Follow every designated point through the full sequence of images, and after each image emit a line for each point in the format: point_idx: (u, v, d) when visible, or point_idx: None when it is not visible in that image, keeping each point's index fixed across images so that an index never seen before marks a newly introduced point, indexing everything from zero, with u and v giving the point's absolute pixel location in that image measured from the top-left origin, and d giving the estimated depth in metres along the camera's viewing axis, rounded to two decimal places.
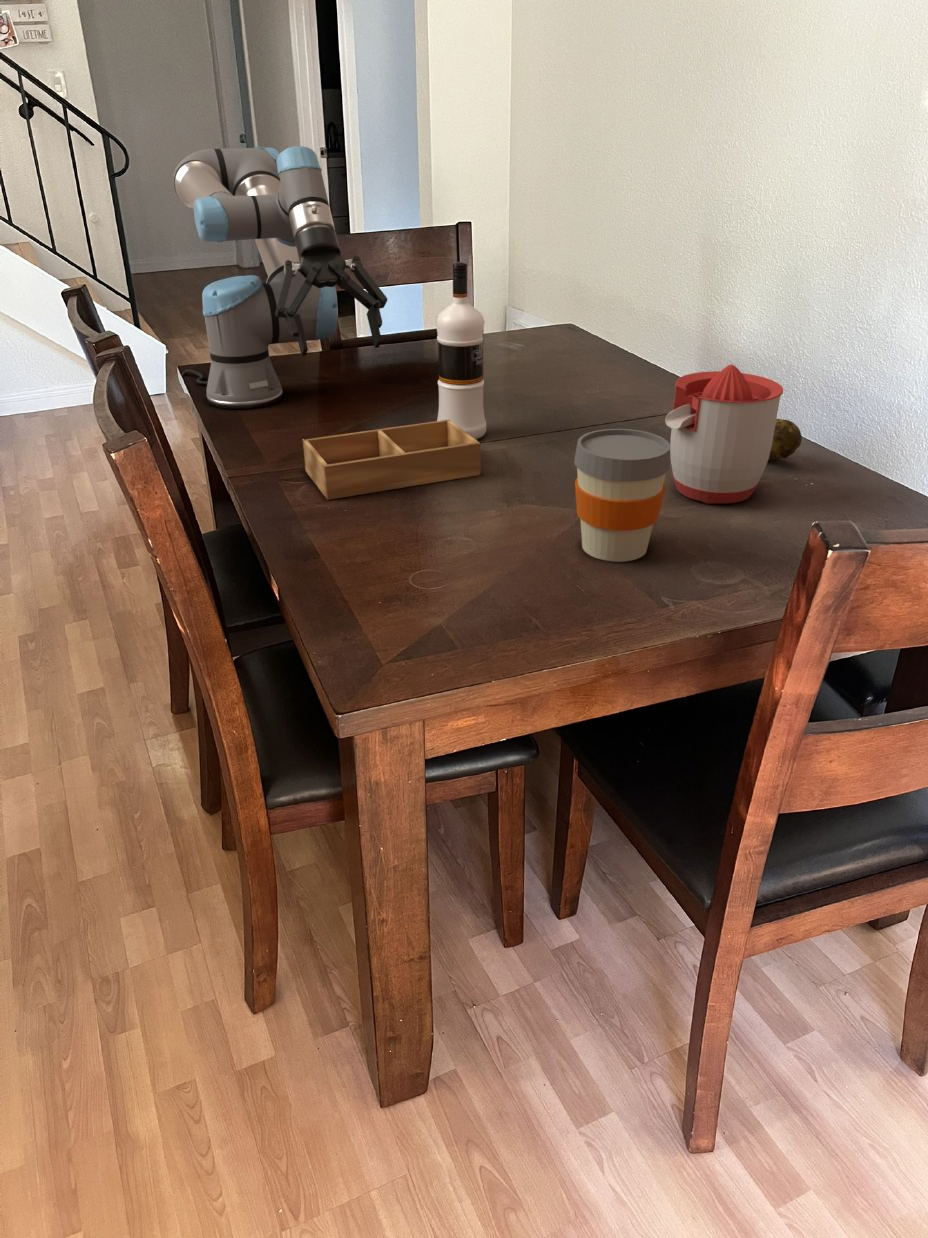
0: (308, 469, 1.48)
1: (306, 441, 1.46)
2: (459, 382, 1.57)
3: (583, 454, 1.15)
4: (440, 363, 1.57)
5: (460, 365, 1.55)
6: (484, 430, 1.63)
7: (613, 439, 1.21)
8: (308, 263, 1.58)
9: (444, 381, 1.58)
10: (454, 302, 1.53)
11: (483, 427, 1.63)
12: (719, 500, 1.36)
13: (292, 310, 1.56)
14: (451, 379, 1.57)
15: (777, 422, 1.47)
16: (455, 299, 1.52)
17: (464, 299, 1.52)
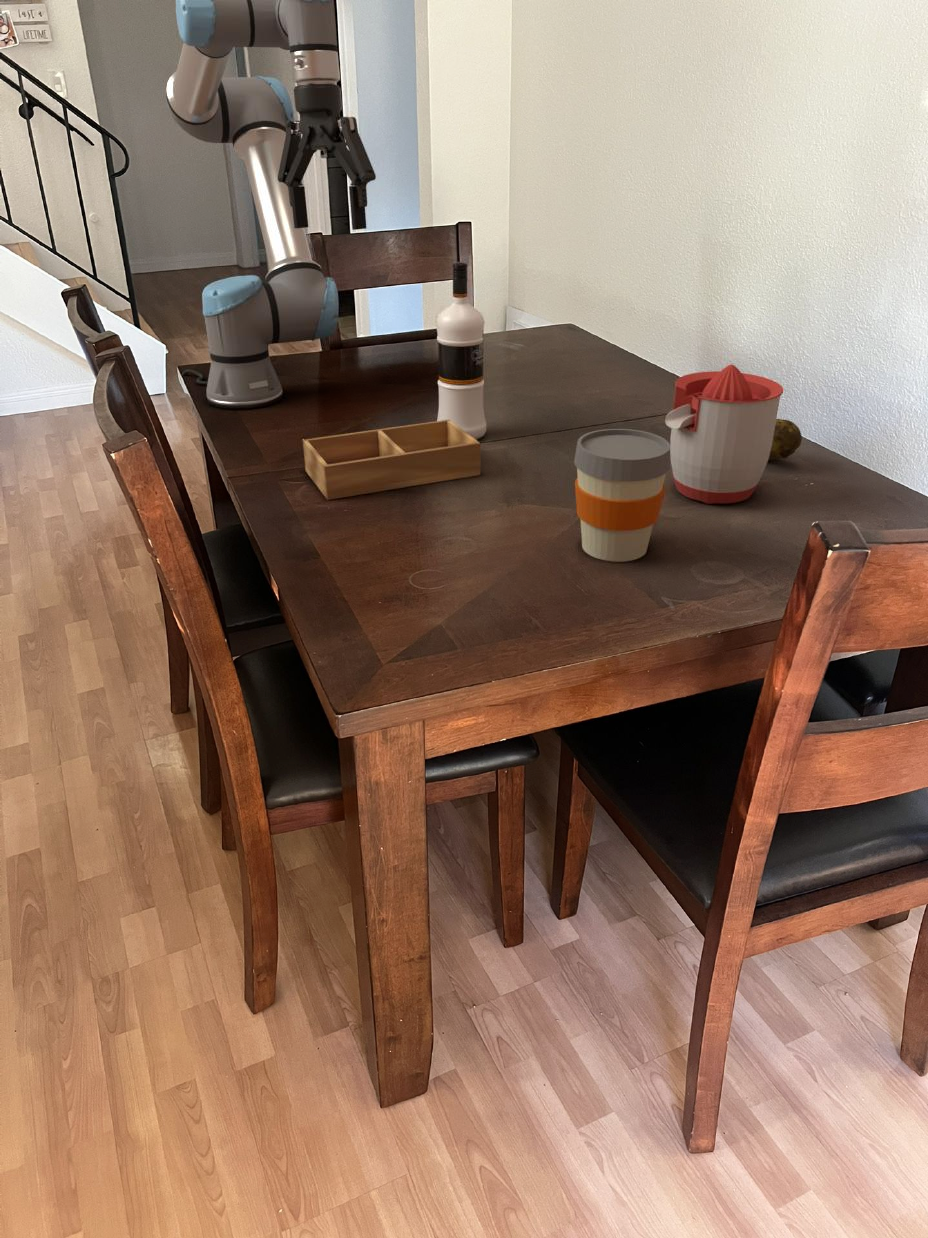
0: (308, 469, 1.48)
1: (306, 441, 1.46)
2: (459, 382, 1.57)
3: (583, 454, 1.15)
4: (440, 363, 1.57)
5: (460, 365, 1.55)
6: (484, 430, 1.63)
7: (613, 439, 1.21)
8: (303, 125, 1.47)
9: (444, 381, 1.58)
10: (454, 302, 1.53)
11: (483, 427, 1.63)
12: (719, 500, 1.36)
13: (288, 182, 1.53)
14: (451, 379, 1.57)
15: (777, 422, 1.47)
16: (455, 299, 1.52)
17: (464, 299, 1.52)
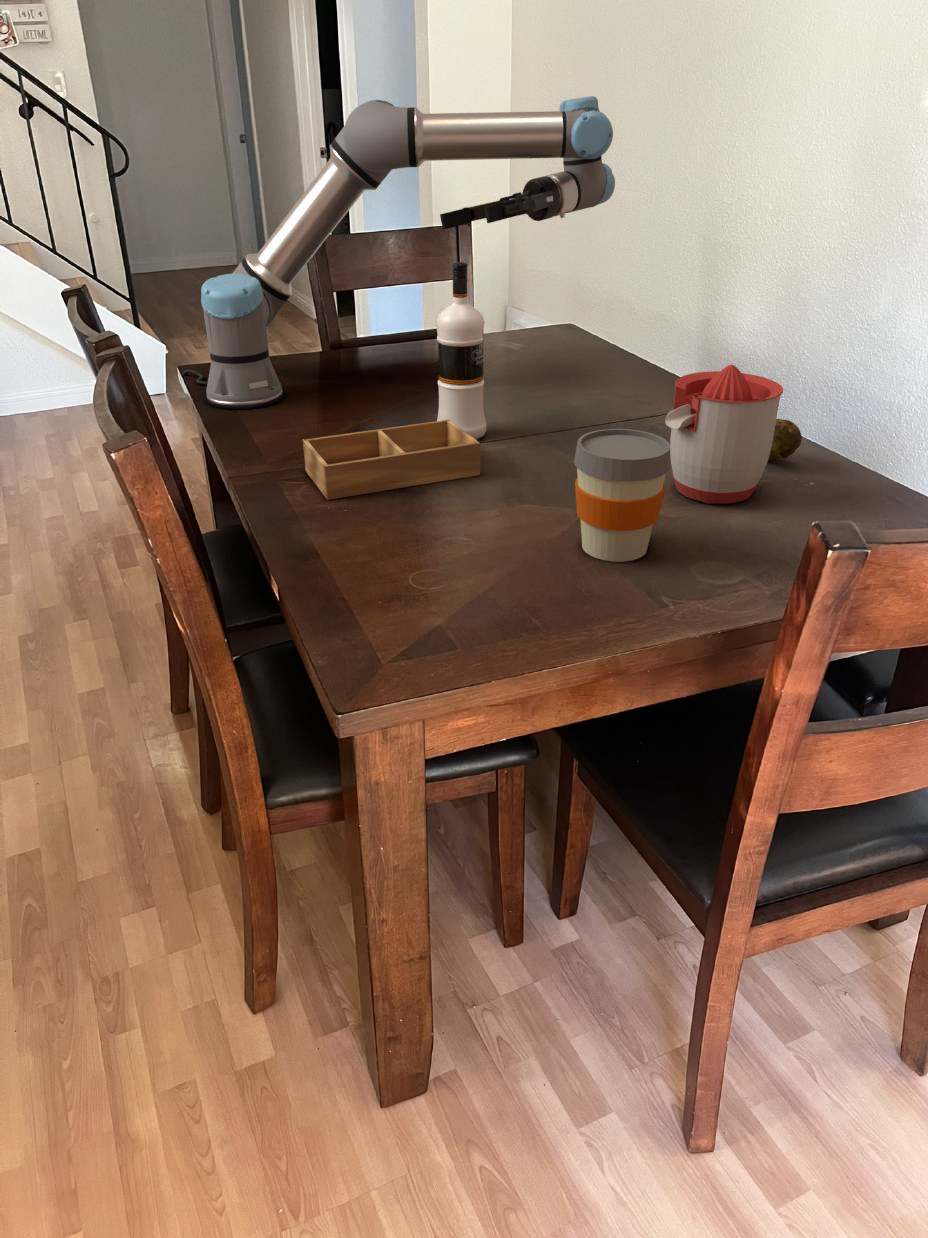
0: (308, 469, 1.48)
1: (306, 441, 1.46)
2: (459, 382, 1.57)
3: (583, 454, 1.15)
4: (440, 363, 1.57)
5: (460, 365, 1.55)
6: (484, 430, 1.63)
7: (613, 439, 1.21)
8: None
9: (444, 381, 1.58)
10: (454, 302, 1.53)
11: (483, 427, 1.63)
12: (719, 500, 1.36)
13: None
14: (451, 379, 1.57)
15: (777, 422, 1.47)
16: (455, 299, 1.52)
17: (464, 299, 1.52)
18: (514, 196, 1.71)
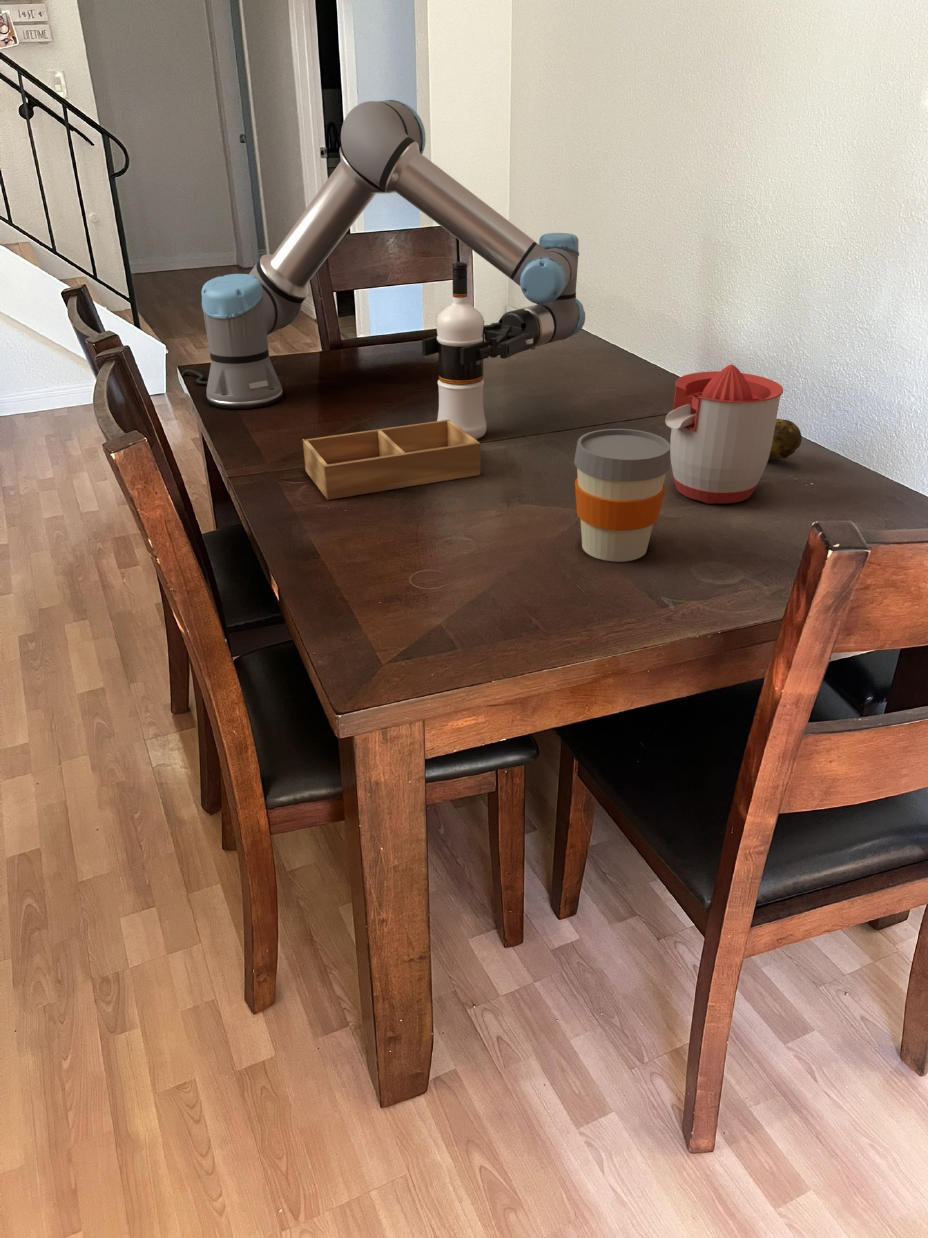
0: (308, 469, 1.48)
1: (306, 441, 1.46)
2: (459, 382, 1.57)
3: (583, 454, 1.15)
4: (440, 363, 1.57)
5: (460, 365, 1.55)
6: (484, 430, 1.63)
7: (613, 439, 1.21)
8: None
9: (444, 381, 1.58)
10: (454, 302, 1.53)
11: (483, 427, 1.63)
12: (719, 500, 1.36)
13: None
14: (451, 379, 1.57)
15: (777, 422, 1.47)
16: (455, 299, 1.52)
17: (464, 299, 1.52)
18: (493, 327, 1.64)
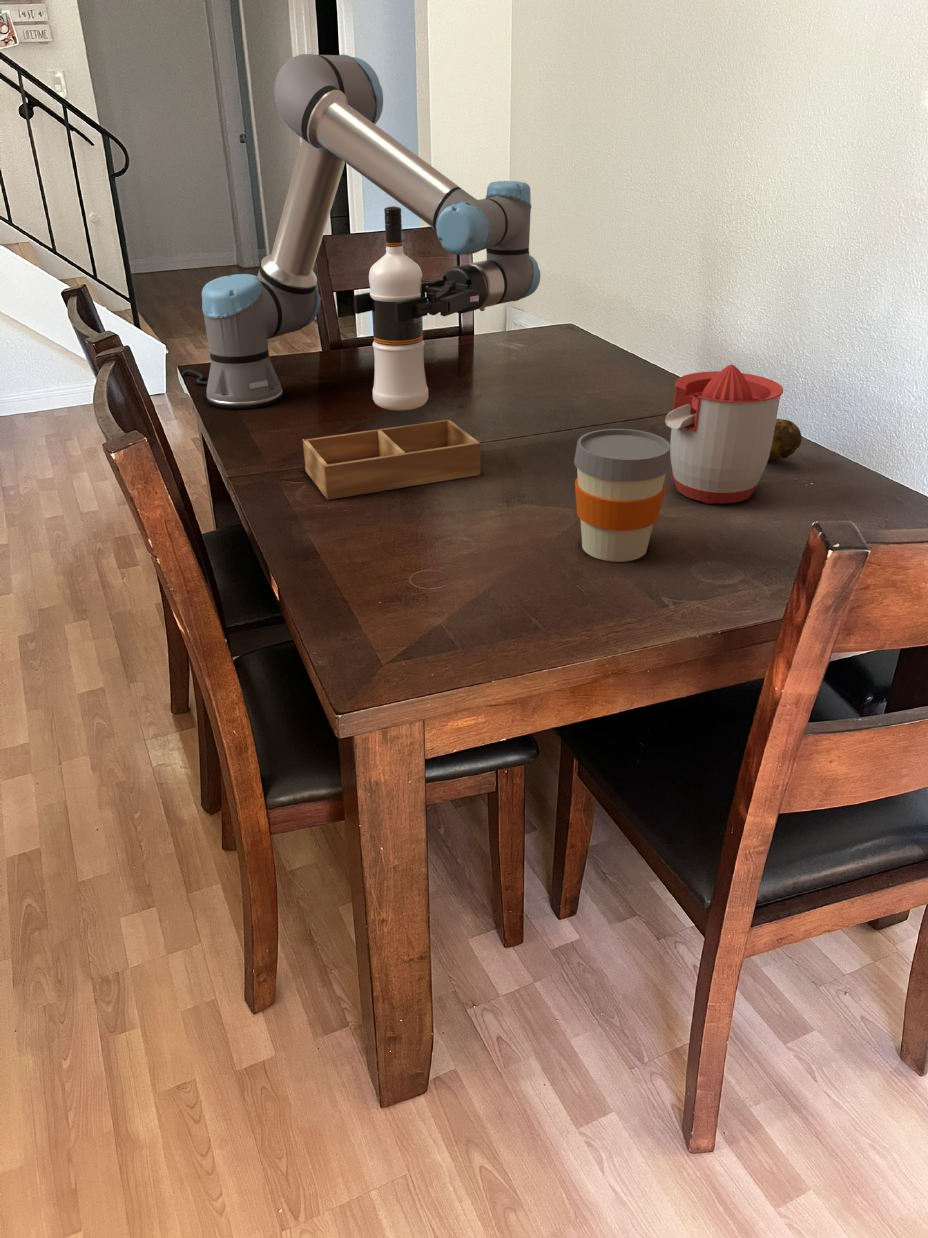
0: (308, 469, 1.48)
1: (306, 441, 1.46)
2: (395, 342, 1.41)
3: (583, 454, 1.15)
4: (374, 322, 1.41)
5: (395, 323, 1.39)
6: (425, 397, 1.47)
7: (613, 439, 1.21)
8: None
9: (378, 342, 1.42)
10: (387, 252, 1.37)
11: (424, 394, 1.47)
12: (719, 500, 1.36)
13: None
14: (386, 339, 1.41)
15: (777, 422, 1.47)
16: (388, 249, 1.36)
17: (399, 249, 1.36)
18: (436, 283, 1.48)
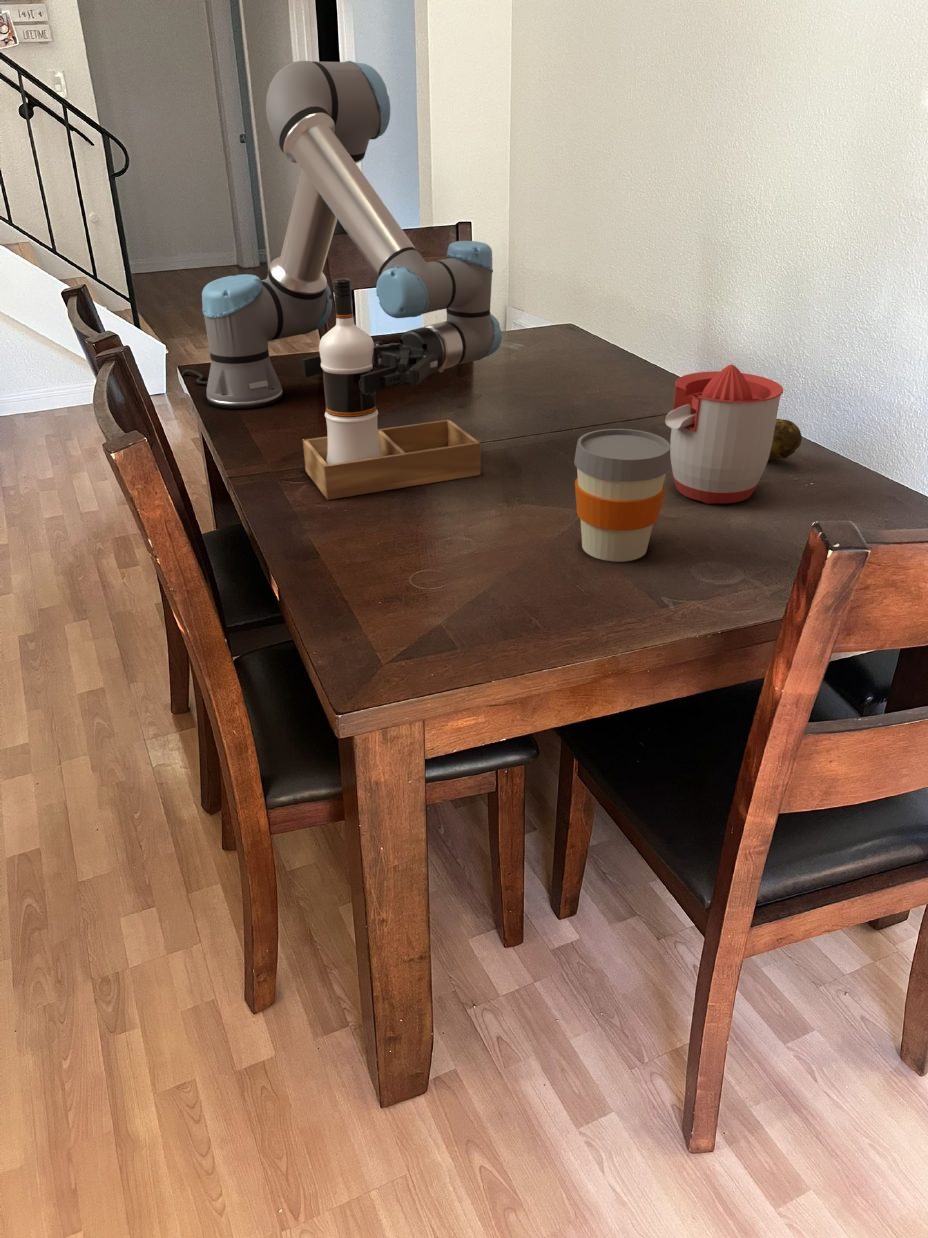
0: (308, 469, 1.48)
1: (306, 441, 1.46)
2: (346, 414, 1.37)
3: (583, 454, 1.15)
4: (325, 393, 1.38)
5: (346, 395, 1.36)
6: None
7: (613, 439, 1.21)
8: None
9: (330, 413, 1.39)
10: (337, 324, 1.34)
11: None
12: (719, 500, 1.36)
13: None
14: (337, 411, 1.38)
15: (777, 422, 1.47)
16: (338, 320, 1.33)
17: (349, 320, 1.33)
18: (391, 348, 1.45)
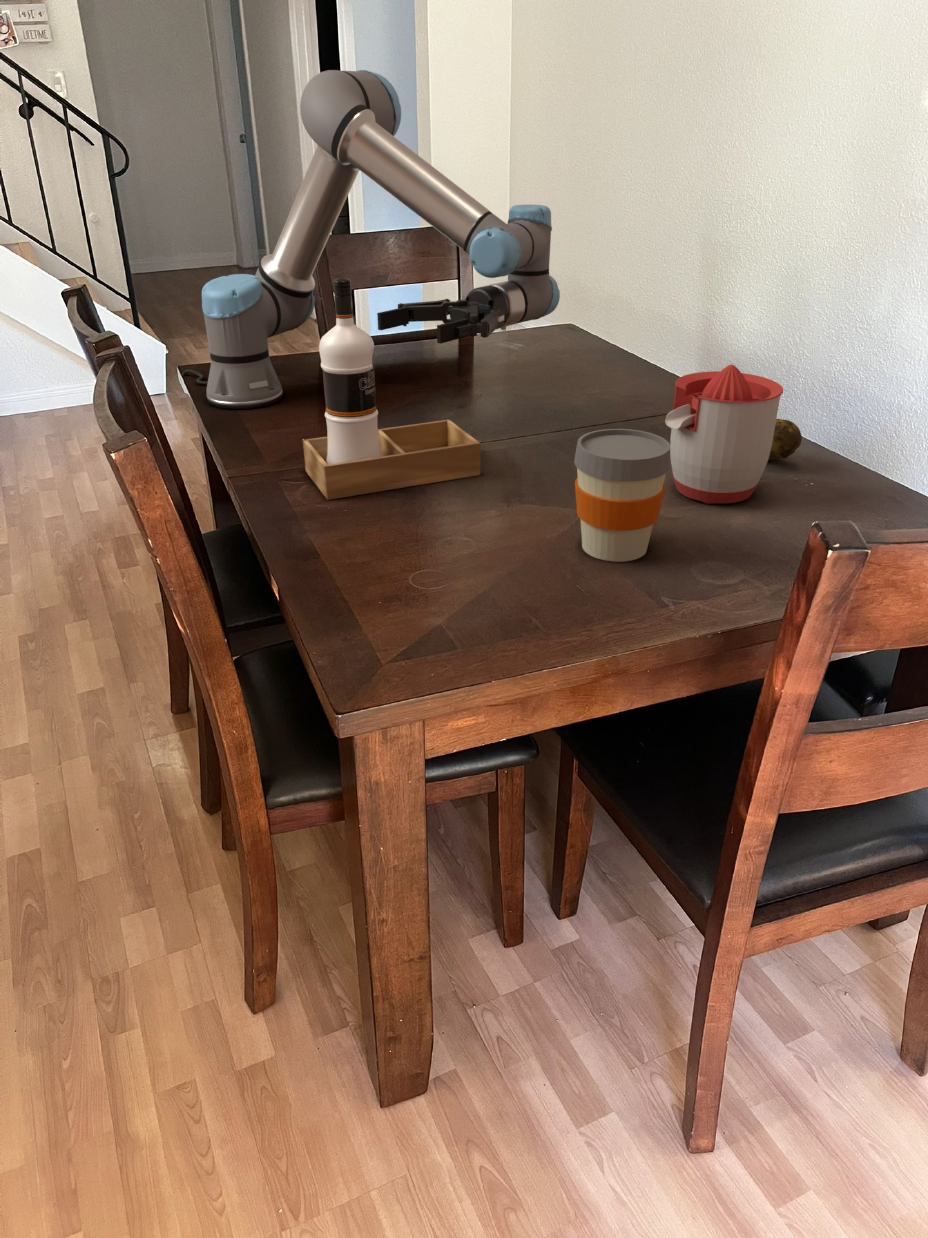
0: (308, 469, 1.48)
1: (306, 441, 1.46)
2: (346, 414, 1.37)
3: (583, 454, 1.15)
4: (325, 393, 1.38)
5: (346, 395, 1.36)
6: None
7: (613, 439, 1.21)
8: None
9: (330, 413, 1.39)
10: (337, 324, 1.34)
11: None
12: (719, 500, 1.36)
13: None
14: (337, 411, 1.38)
15: (777, 422, 1.47)
16: (338, 320, 1.33)
17: (349, 320, 1.33)
18: (459, 304, 1.54)
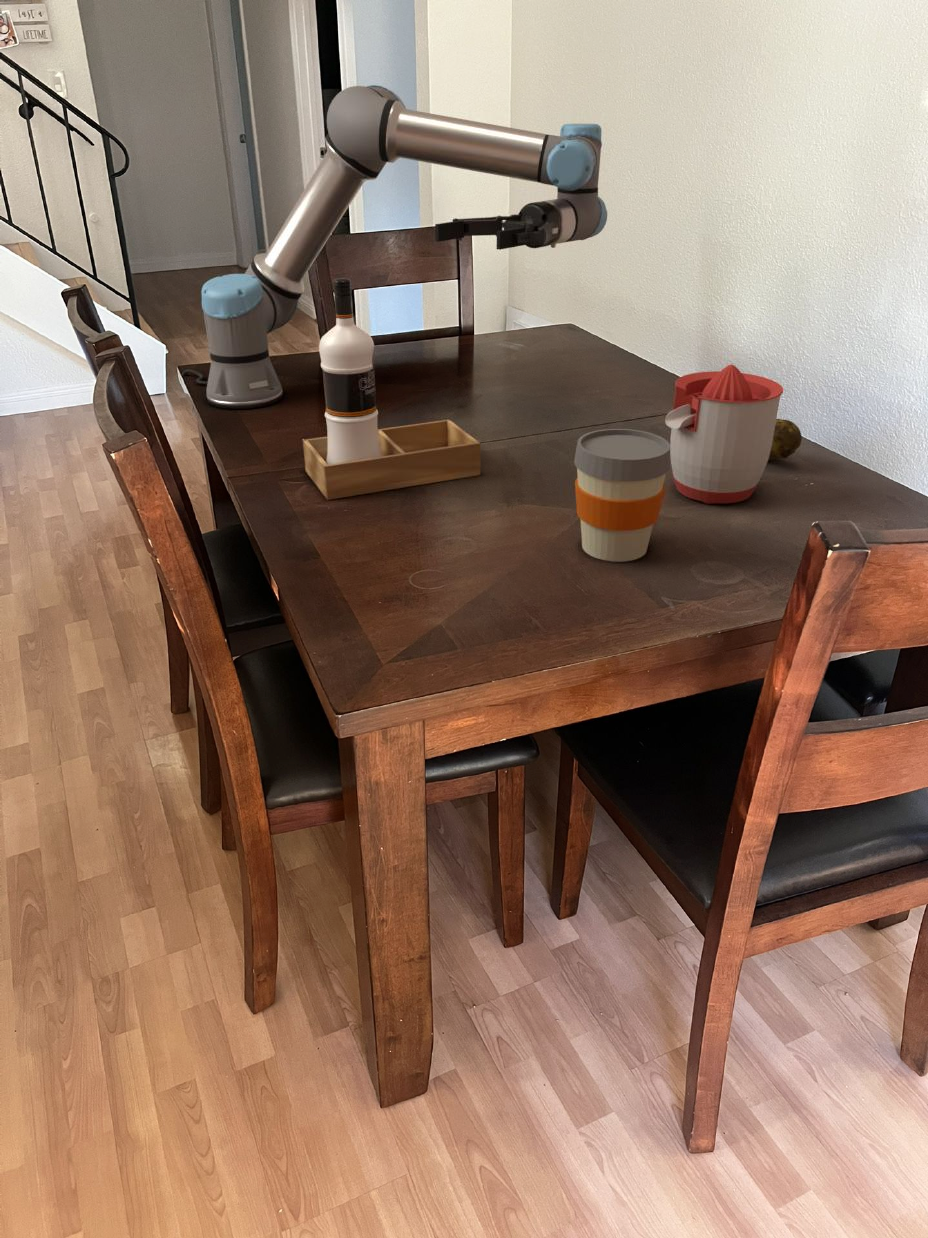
0: (308, 469, 1.48)
1: (306, 441, 1.46)
2: (346, 414, 1.37)
3: (583, 454, 1.15)
4: (325, 393, 1.38)
5: (346, 395, 1.36)
6: None
7: (613, 439, 1.21)
8: None
9: (330, 413, 1.39)
10: (337, 324, 1.34)
11: None
12: (719, 500, 1.36)
13: None
14: (337, 411, 1.38)
15: (777, 422, 1.47)
16: (338, 320, 1.33)
17: (349, 320, 1.33)
18: (513, 218, 1.57)
